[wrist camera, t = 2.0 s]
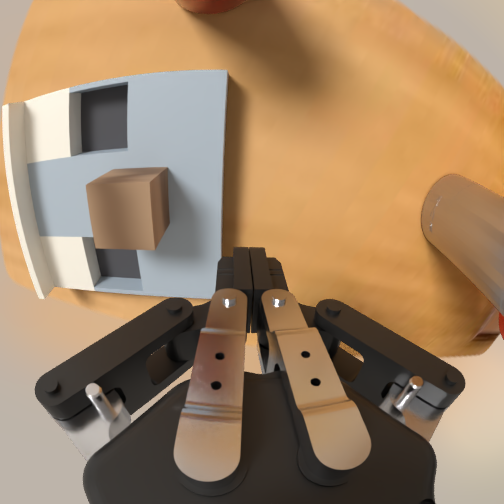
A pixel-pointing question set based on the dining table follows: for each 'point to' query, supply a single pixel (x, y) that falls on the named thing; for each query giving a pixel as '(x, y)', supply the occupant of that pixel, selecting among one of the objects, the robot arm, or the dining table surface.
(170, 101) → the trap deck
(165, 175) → the walnut block
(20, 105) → the end stop
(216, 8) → the soda can
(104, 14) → the dining table surface
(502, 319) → the red round cluster
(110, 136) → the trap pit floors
